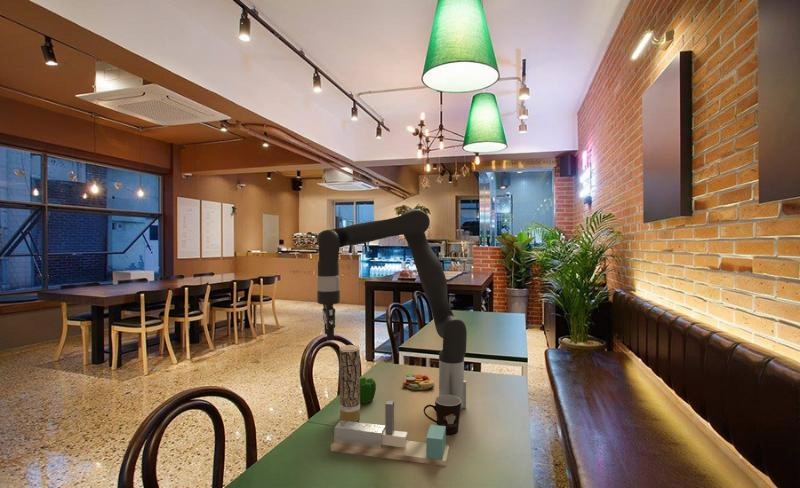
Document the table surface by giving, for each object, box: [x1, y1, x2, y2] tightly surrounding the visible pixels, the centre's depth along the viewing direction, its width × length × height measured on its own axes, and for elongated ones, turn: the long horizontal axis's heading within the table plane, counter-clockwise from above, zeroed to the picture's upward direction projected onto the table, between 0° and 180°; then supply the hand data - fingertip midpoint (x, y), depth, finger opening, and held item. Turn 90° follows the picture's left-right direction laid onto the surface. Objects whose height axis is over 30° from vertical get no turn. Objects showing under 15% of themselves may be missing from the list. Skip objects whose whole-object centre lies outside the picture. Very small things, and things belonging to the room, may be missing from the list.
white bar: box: [382, 400, 409, 448], centre depth 117 cm, size 19×3×12 cm, turn 77°
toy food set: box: [402, 373, 435, 391], centre depth 167 cm, size 13×13×3 cm
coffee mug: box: [423, 395, 462, 437], centre depth 128 cm, size 12×9×10 cm
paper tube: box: [339, 344, 361, 422], centre depth 135 cm, size 7×7×25 cm
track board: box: [330, 440, 450, 467], centre depth 116 cm, size 34×8×2 cm, turn 77°
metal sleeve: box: [333, 419, 385, 449], centre depth 118 cm, size 14×5×5 cm, turn 77°
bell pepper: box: [360, 375, 377, 404], centre depth 151 cm, size 8×8×10 cm
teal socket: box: [425, 424, 447, 460], centre depth 112 cm, size 4×8×6 cm, turn 166°
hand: (329, 336), depth 133 cm, fingers open, 8 cm apart
